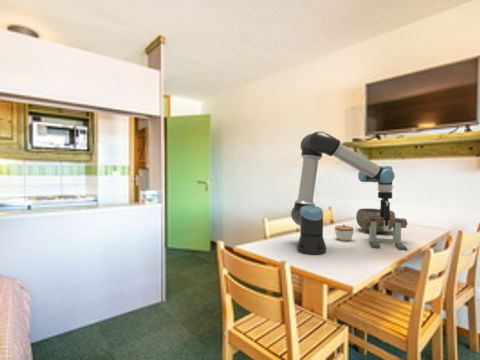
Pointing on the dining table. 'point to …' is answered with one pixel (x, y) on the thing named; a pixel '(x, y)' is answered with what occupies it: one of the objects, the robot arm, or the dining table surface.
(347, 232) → the lidded jar
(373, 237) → the rack
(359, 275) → the dining table surface
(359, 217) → the bowl
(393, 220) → the rail
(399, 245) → the rests
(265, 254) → the dining table surface
